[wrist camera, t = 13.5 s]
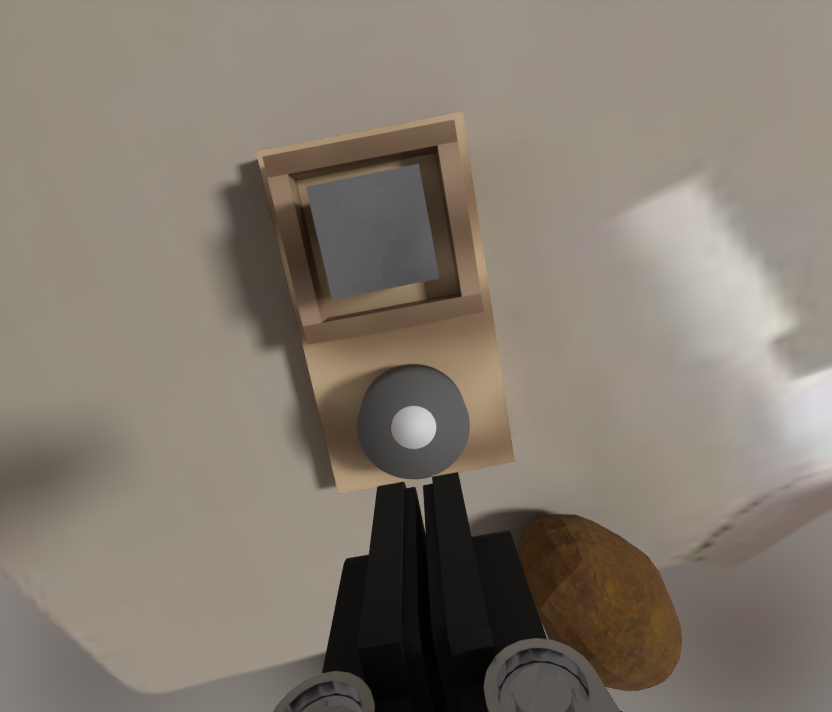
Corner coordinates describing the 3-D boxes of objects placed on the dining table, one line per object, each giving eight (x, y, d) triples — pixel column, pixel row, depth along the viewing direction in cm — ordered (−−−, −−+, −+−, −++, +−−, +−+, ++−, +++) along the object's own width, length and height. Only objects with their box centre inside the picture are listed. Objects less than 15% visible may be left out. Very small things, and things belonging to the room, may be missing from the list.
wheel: (350, 374, 27) (346, 384, 25) (456, 354, 27) (460, 363, 25) (372, 471, 28) (369, 488, 26) (472, 453, 28) (478, 469, 26)
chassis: (264, 157, 26) (243, 143, 23) (459, 119, 26) (467, 99, 23) (341, 481, 31) (333, 510, 27) (509, 451, 31) (522, 477, 27)
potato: (554, 466, 31) (602, 536, 23) (682, 574, 33) (765, 670, 25) (471, 552, 32) (491, 644, 25) (599, 650, 34) (654, 764, 26)
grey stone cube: (324, 199, 26) (305, 186, 21) (416, 180, 25) (418, 163, 21) (345, 290, 27) (332, 299, 22) (433, 273, 27) (439, 278, 22)
